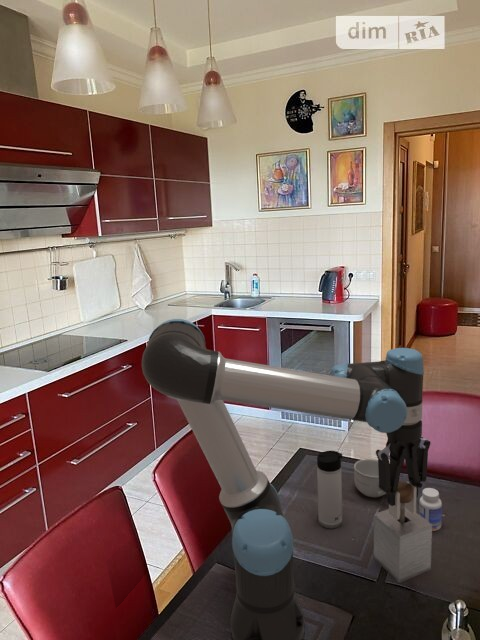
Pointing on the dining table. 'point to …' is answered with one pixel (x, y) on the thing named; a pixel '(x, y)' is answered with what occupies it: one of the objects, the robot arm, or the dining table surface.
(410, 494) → the plunger
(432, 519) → the pill bottle
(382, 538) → the grey block with hole
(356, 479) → the teacup
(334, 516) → the travel mug
